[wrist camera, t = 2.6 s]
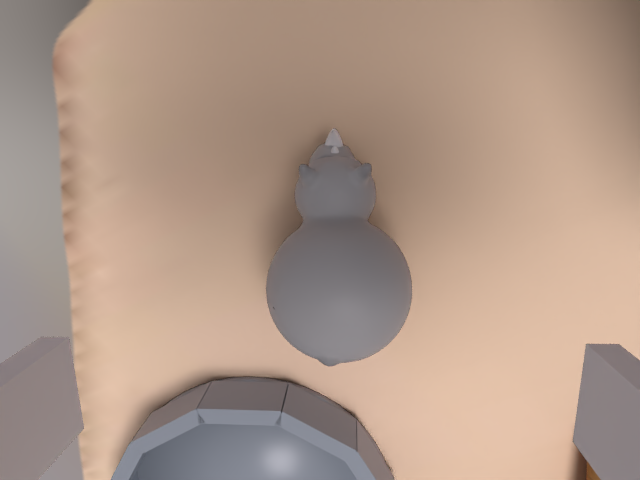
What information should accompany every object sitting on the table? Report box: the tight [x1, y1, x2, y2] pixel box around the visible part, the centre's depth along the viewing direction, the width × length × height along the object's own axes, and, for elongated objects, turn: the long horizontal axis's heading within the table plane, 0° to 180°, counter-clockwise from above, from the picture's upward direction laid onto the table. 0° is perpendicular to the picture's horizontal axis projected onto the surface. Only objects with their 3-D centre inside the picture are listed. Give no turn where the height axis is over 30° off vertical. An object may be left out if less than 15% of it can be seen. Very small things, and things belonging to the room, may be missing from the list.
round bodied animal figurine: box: [266, 128, 412, 366], centre depth 23 cm, size 7×12×8 cm, turn 1°
